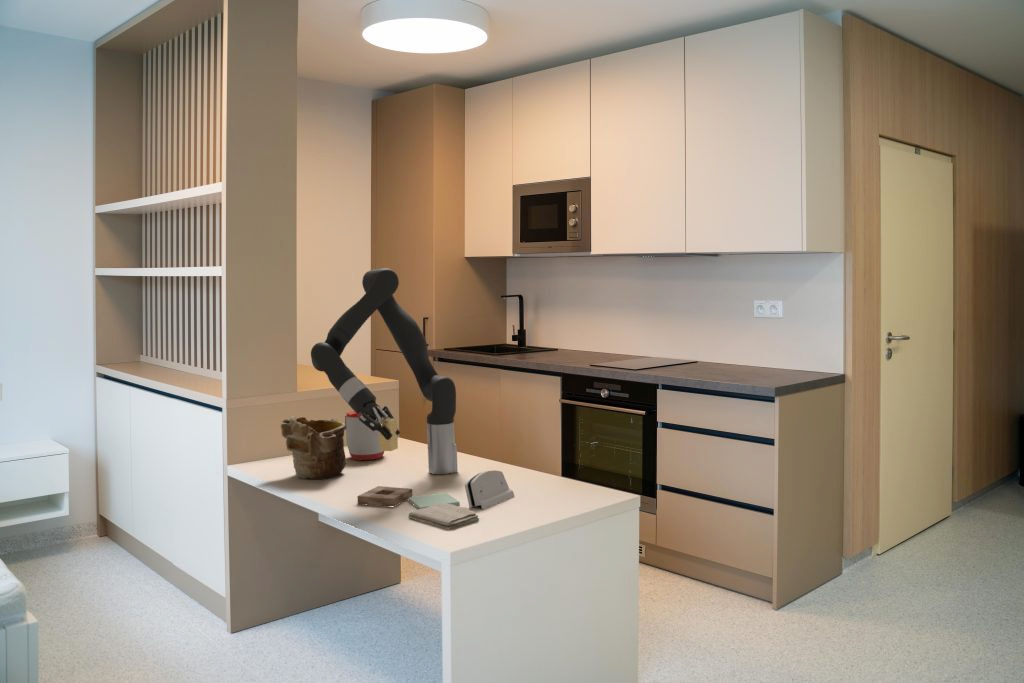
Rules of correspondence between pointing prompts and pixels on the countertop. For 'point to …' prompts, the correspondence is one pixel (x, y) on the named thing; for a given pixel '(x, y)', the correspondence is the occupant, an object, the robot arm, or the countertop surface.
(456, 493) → the countertop surface
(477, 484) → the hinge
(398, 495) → the socket base
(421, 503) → the mat
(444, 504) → the washcloth
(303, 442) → the ceramic vessel
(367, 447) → the citrus juicer
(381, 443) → the peg
